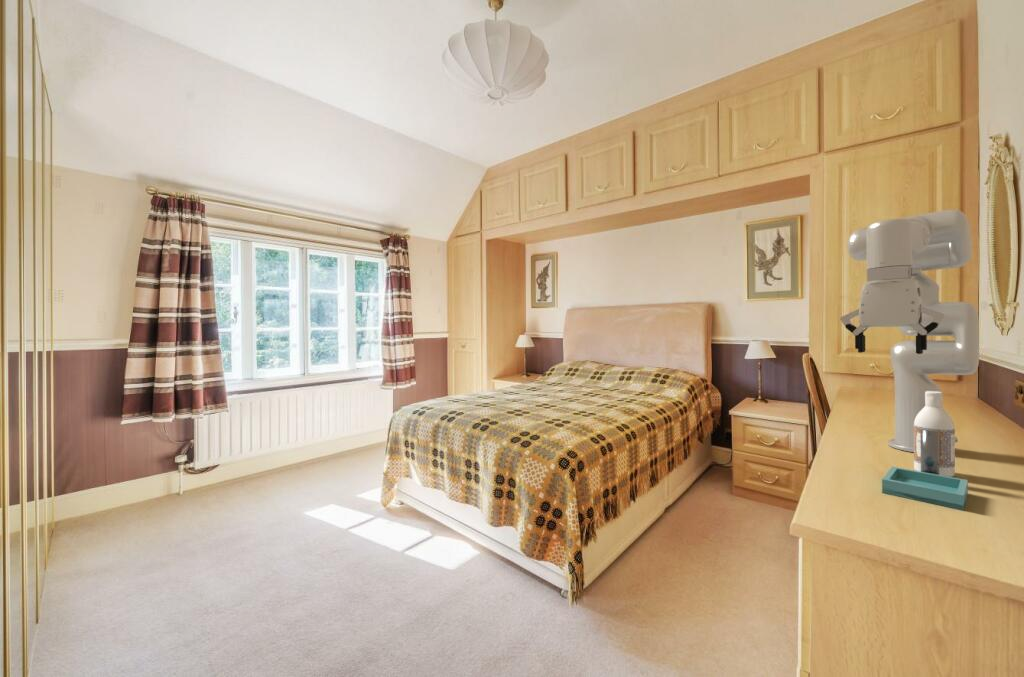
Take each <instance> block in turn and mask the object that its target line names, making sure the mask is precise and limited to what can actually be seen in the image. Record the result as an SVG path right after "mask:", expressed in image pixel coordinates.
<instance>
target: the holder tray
mask: <svg viewBox="0 0 1024 677" xmlns="http://www.w3.org/2000/svg"><path fill="white" fill-rule="evenodd" d="M968 486H969V483H968V479H964V478H959V477H954V476H953V477H948V476H943V475H937V474H931V473H926V472H920V471H916V470H915V469H909V468H903V467H899V466H897V467H896V466H891V467H890V468H889V470H888V471H887V472H886V474H885V475H884V476H883V477H882V478H881V491H882V494H886V495H891V496H896V497H900V498H903V499H904V498H905V499H909V500H913V501H918V502H921V503H926V504H927V503H928V504H931V505H935V506H936V505H937V506H941V507H946V508H950V509H955V510H959V511H963V512H964V511H965V506H966V503H967V499H968V495H969V494H968V492H969V489H968V488H969V487H968Z"/></svg>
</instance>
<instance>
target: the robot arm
mask: <svg viewBox="0 0 1024 677" xmlns="http://www.w3.org/2000/svg"><path fill="white" fill-rule="evenodd" d="M970 228H971V226H970V223H969V220H968V218H967V216H966V214H965V213H964V212H963V211H961V210H959V209H955V208H954V209H945V210H940V211H934V212H928V213H921V214H916V215H909V216H906V217H901V218H890V219H884V220H879V221H875V222H873V223H870V224H869V225H868V226H867V227H864V228H859V229H856V230H854V231H853V232H852V233H851V234H850V235H849V237H848V240H847V252H848V254H849V256H850V257H851V259H853V260H855V261H866V283H863V284H862V288H861V291H860V292H861V293H860V298H859V305H858V306H859V308H858V309H855V310H854V311H852V312H849V313H847V314H845V315H842V316H841V317H840V318H839V319H840V321H841V323H842V324H843V326H844V328H845V329H846V330H848V331H849V332H850V333H852V335H854V348H855V349H856V350H857V352H858V353H860V354H862V353H865V352H866V335H865V334H864V332H866V331H867V330H868V329H869V328H892V327H894V328H895V327H896V328H897V327H898V329H899V332H901V333H902V334H903V335H905V336H914V337H915V339H914V340H911V339H910V340H903V341H899V342H896V343H894V344H893V345H892V347H891V348H890V350H889V351H890V354H889V355H890V356H889V357H890V361H891V365H892V366H891V367H892V370H893V372H892V373H893V379H894V438H891V439H889V440H887V445H888V446H889V447H892V448H894V449H897V450H900V451H905V452H911V453H914V421H915V418H916V416H917V414H918V413H919V412H920V411H921V410H922V409H923V408H924V407H925V392H926V391H936V392H941V389H940V387H939V385H938V384H937V383H936V382H935V381H934V380H933V379H932V378H931V377H929V376H928V375H947V376H948V375H950V376H967V375H973V374H975V373H976V372H977V371H978V369H979V368H978V367H979V364H980V321H979V313H978V310H977V308H976V306H975V305H974V304H972V303H970V302H967V301H947V302H946V301H945V302H943V301H940V287H939V284H938V283H937V282H936V281H935V280H934V279H933V278H931V277H930V276H929V275H927V274H926V273H924V272H925V271H936V270H947V269H956V268H958V269H959V268H961V267H964V266H966V265H968V264H969V262H970V261H971V260H972V256H973V247H972V236H971V229H970ZM856 317H858V323H859V326H855V325H854V323H852V321H851V320H852V319H853V318H856ZM928 337H951V338H954V340H943V339H942V340H937V339H936V340H933V339H932V340H931V339H930V340H929V339H928ZM958 440H959V439H958V437H957V436H956V435H955V444H956V443H957V442H959V441H958Z"/></svg>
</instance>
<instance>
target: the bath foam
mask: <svg viewBox="0 0 1024 677" xmlns="http://www.w3.org/2000/svg"><path fill="white" fill-rule="evenodd" d="M921 429H934V430H938V431H939V475H943V476H948V477H954V476H955V474H956V443H955V436H956V428H955V422H954V421H953V419H952V417H951V416H950V415H949V413H948V412H947V411H946V410H945V408H943V392H942V391H940V392H936V391H926V392H925V407H924V408H923V409H922V410H921V411H920V412H919V413H918V414H917V416H916V418H915V421H914V452H913V468H914V469H913V470H915V471H920V472H921Z"/></svg>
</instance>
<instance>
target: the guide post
mask: <svg viewBox="0 0 1024 677" xmlns="http://www.w3.org/2000/svg"><path fill="white" fill-rule="evenodd" d="M921 472H926V473H931V474H937V475H939V431H938V430H934V429H921Z"/></svg>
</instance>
